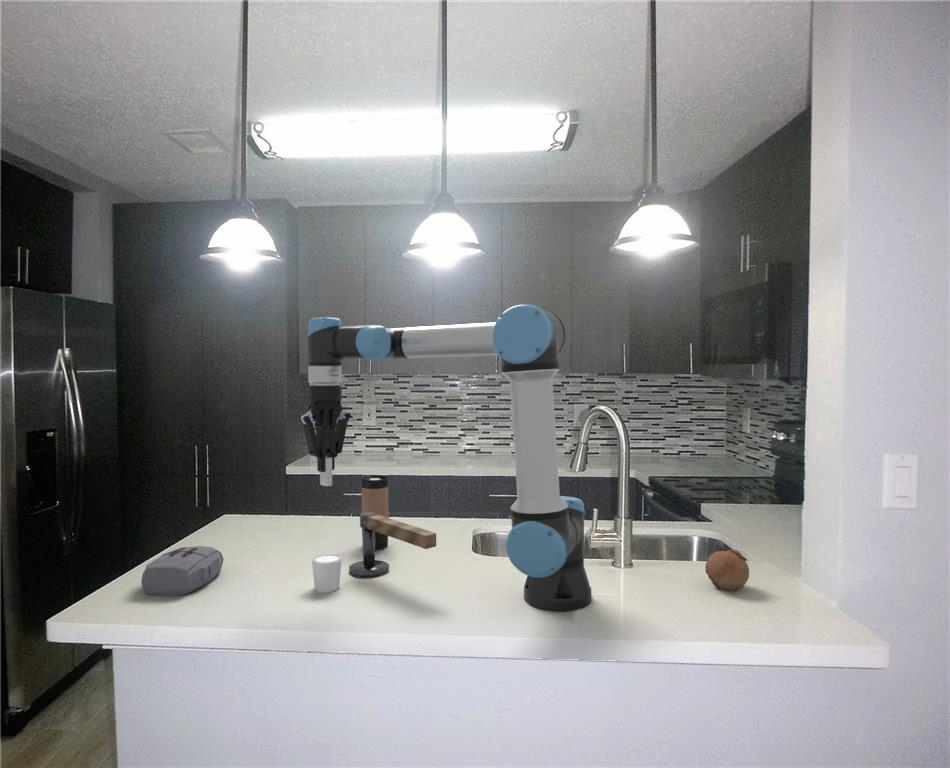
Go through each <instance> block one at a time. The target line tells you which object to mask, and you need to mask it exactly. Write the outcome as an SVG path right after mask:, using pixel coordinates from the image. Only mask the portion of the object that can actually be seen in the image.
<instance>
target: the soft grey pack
mask: <svg viewBox="0 0 950 768" xmlns="http://www.w3.org/2000/svg"><path fill="white" fill-rule="evenodd" d="M224 560H225V559H224V557H223V554H222V552H220V551H219V550H218V549H216V548H214V547H212V546H206V545H196V546H182V547H179V548H176V549H173V550H171V551H170V550H169V551H168V552H166V553H164V554H163V553H162V554H161V555H160V556H159V557H158V558H156V559H154V560H153V561H151V562H150V563H148V564H147V565H146V567H145V569H144V571H143V572H142V576H141V580H140V581H141V586H142V589H143V591H144V592H145V594H149V595H151V596H163V597H178V596H184V595H187V594H189V593H192V592H194V591H198V590H199V589H201V588H202V587H204V586H205V585H208V584H209V583H210V582H211V581H212V580H213V579H214V578H215V577H217V576H218V574H219V573H220V572H222V568H223V567H222V566H223V563H224Z"/></svg>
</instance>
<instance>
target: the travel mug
mask: <svg viewBox="0 0 950 768" xmlns="http://www.w3.org/2000/svg"><path fill="white" fill-rule="evenodd" d="M367 512H373V513H377V514H378V515H380V516H383V517H386V518H389V517H390V516H389V477H388V476H385V475H376V474H375V475H371V476H370V477H367V478H366V477H365V476H362V477H361V514H362V513H367ZM361 537H362V542H363V528H361ZM388 543H389V536H387V535H384V534H382V533H379V532H376V531H375V551H380V550H381V549H382V550H385V549H387V548H388V545H389V544H388ZM386 547H387V548H386ZM384 548H385V549H384ZM382 550H381V551H382Z"/></svg>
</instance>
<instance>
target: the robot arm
mask: <svg viewBox="0 0 950 768" xmlns="http://www.w3.org/2000/svg"><path fill="white" fill-rule="evenodd" d="M567 337H568V335H567V328H566V326H565V323H564V321H563V320H562V319H561V317H560V316H559V315H558V314H557V313H556V312H554V311H551V310H549V309H545V308H542V307H540V306H537V305H535V304H532V303H531V304H525V303H524V304H518V305H513V306H511V307H509V308H507V309H506V310H505V311H503V312H502V313H501V314H500V316H499V317H497V320H496V321H495V322H482V323H481V322H479V323H478V322H477V323H464V324H463V323H461V324H447V325H429V326H414V327H413V326H411V327H394V328H393V327H391V328H390V327H385V326H383V325H375V324H366V325H353V326H352V325H351V326H350V325H349V326H346V325H342V321H341V319H340V318H337V317H312V318H311V319H310V320H309V322H308V331H307V347H308V350H307V351H308V372H307V373H308V375H307V376H308V383H309V384H310V385H309V386H308V401H309V406H308V408H307V412H306V413H305V414H304V415H300V416H299V417H298V420H299V422H300V423H301V424H302V427H303V430H304V436H305V440H306V445H307V447H308V448H307V450H308V453H309V455H310V456H313V457H315V458H316V461H317V462H316V463H317V467H316V468H317V472H319V480H320V481H319V485H320V486H323V487H332V486H333V471H335V463H336V462H335V458H338V455H339V454H341V453H342V452H343V448H344V447H343V446H344V444H345V443H344V442H345V438H346V437H345V436H346V432H347V426H348V422H349V420H350V419H351V413H350V412H346V411H345V410H343V406H342V404H341V403H342V399H343V394H342V393H343V391H342V390H343V387H342V385H341V384H340V383H342V378H343V377H342V372H343V371H342V363H343V362H342V360H346V359H349V360H350V359H351V360H352V359H353V360H392V361H393V360H394V361H395V360H401V359H402V360H405V359H424V358H425V359H426V358H451V357H452V358H454V357H483V356H484V357H486V356H499V357H500V362H501V375H503V376H504V377H505V379H507V380H508V381H509V386H510V387H509V388H510V399H511V400H510V401H511V414H512V415H511V416H512V431H513V434H512V435H513V446H514V449H513V450H514V463H515V464H514V465H515V479H516V492H517V493H516V494H517V495H516V496H517V498H516V500H515V501H514V503H513V504H512V505H511V506H510V514H511V530H510V531H509V532H508V536H507V539H506V542H505V546H506V547H505V549H506V555H507V557H508V559H509V560H510V562H511V564H512V565H513V566H514V567H515V568H516V569H517V570H518V571H519V572H520V573H521V574H524V575H525V576H527V577H526V579H525V581H524V582H525V583H524V585H523V599H524V600H525V602H526V603H527V604H529V605H531V606H533V607H534V608H535V607H536V608H537V609H542V610H547V611H554V612H569V611H577V610H582V609H585V608H587V607H588V606H589V605H590V604H591V603H592V587H591V584H590V582H589V578H588V574H587V572H586V568H585V562H584V561H585V559H584V555H585V553H584V550H585V515H586V511H585V504H584V502H583V500H582V499H580V498H578V497H573V496H565V495H560V480H559V477H560V476H559V466H558V465H559V462H558V448H557V446H558V445H557V435H556V433H557V432H556V418H555V417H556V415H555V403H554V402H555V400H554V386H553V385H554V384H553V379H554V377H555V376H556V375H557V374H558V372H559V371H560V362H559V361H560V360H559V355H560V354H561V352H562V351H563V349H564V348H565V347H566V346H565V345H566V343H567ZM313 421H314V423H313Z"/></svg>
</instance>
